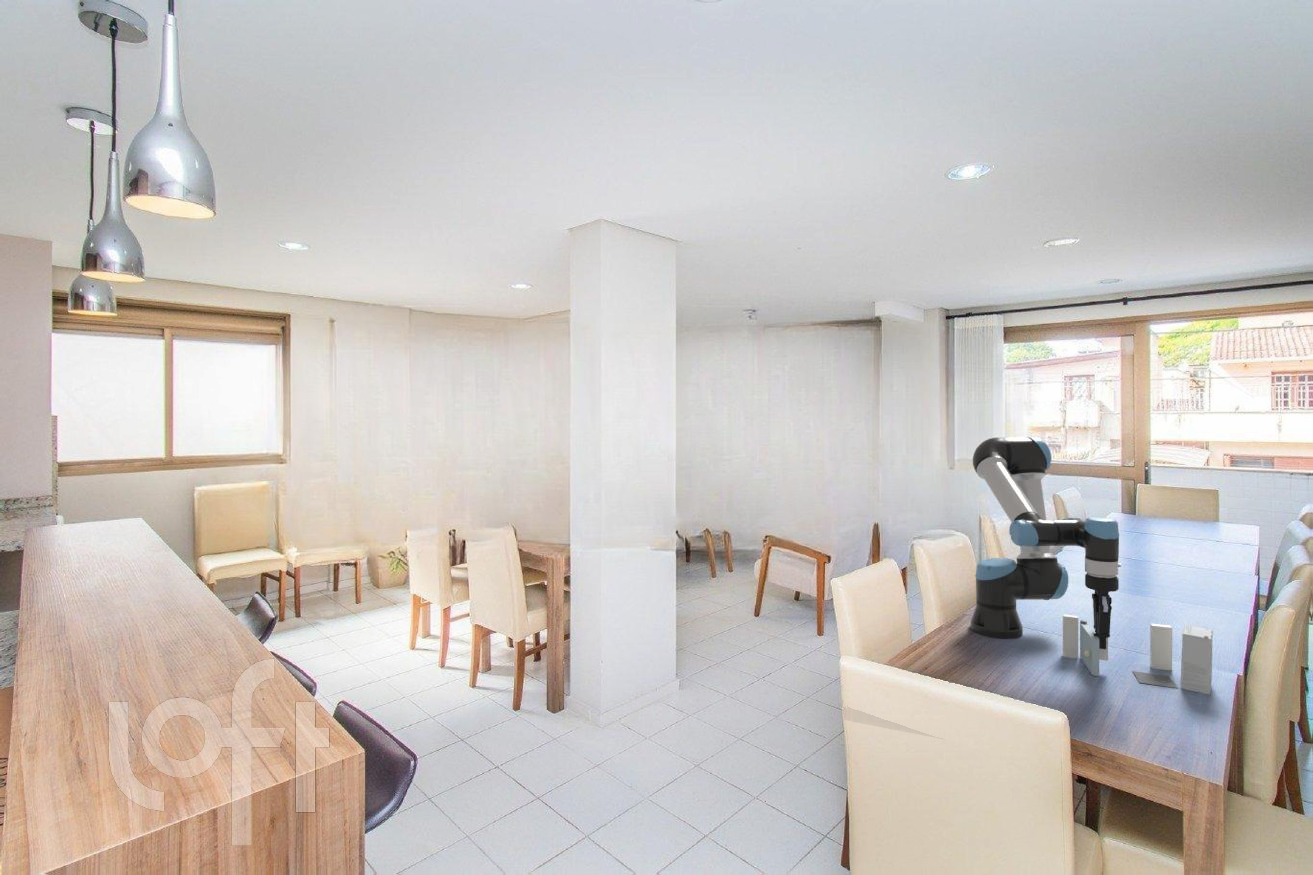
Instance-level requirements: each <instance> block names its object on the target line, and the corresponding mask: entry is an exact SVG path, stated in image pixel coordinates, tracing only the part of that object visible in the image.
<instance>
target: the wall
mask: <svg viewBox="0 0 1313 875" xmlns="http://www.w3.org/2000/svg"><path fill="white" fill-rule="evenodd" d="M1149 629H1150V634H1149V635H1150V636H1149V638H1150V639H1149V641H1150V644H1149V645H1150V647H1149V648H1150V649H1149V650H1150V652H1149V653H1150V654H1149V655H1150V657H1149V658H1150V659H1149V661H1150V663H1149V665H1150V667H1151V669H1154V670H1155V669H1156V670H1164V671H1169V672H1170V671H1171V672H1172V671H1173V627H1172V626H1171V625H1168V624H1158V623H1150V627H1149ZM1062 655H1063V658H1071V659H1079V617H1078V615H1071V614H1062Z"/></svg>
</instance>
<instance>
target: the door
mask: <svg viewBox="0 0 1313 875" xmlns="http://www.w3.org/2000/svg"><path fill="white" fill-rule="evenodd" d="M1079 624H1080V625H1079V627H1080V628H1079V630H1080V634H1079V636H1080V638H1079V643H1080V644H1079V645H1080V646H1079V647H1080V650H1079V654H1080V655H1079V657H1080V658H1081V660H1082V662H1083V663H1084V664H1085V666H1086V668H1087V670H1088V671H1089V672H1090V673H1091V675H1092V676H1096V677H1100V660H1099V639H1098V637H1097V636H1094V633H1095V631H1093V630H1092V628H1091V627H1090V626H1089V625H1088V621H1087V620H1080V621H1079Z"/></svg>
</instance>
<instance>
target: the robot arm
mask: <svg viewBox="0 0 1313 875" xmlns="http://www.w3.org/2000/svg"><path fill="white" fill-rule="evenodd" d="M1051 462H1052V454H1051V450H1050V448H1049V446H1048V444H1047V443H1046V442H1045V441H1044V440H1043V439H1042V438H1040V437H1036V436H1017V437H1016V436H1013V437H1011V436H1010V437H991V438H988V439H986V440H984V441H982V442H981V443H980V444H979V445H977V447H976V449H975V451H974V452H973V456H972V466H973V469H974V471H975V473H976V474H977V475H978V477H979V478H980V479H982V480H984V481H985V482H986V484H987V485H988V487H989V489H990V490H991V492H992V494H993V496H995V498H996V500H997V501H998V503H999V505H1000V506H1001V508H1002V509H1003V512H1004V513H1005V514H1006V517H1008V519H1009V521H1010V524H1009V532H1008V533H1009V536H1010V539H1011V541H1012V543H1013V544H1014V545H1016V546H1019V548H1020V553H1019V555H1018V556H1016V557H1015V558H1016V560H1014V559H1012V558H1006V557H1002V558H1001V557H994V558H993V557H992V558H985V559H983V560H980V561H979V562H978V563H977V564H976V566H975V567H976V570H975V594H976V595H975V597H976V600H975V601H976V602H975V603H976V604H975V605H976V606H975V608H974V611H973V613H972V616H971V618H970V629H971V630H972V631H973V632H975V633H978V634H979V635H983V636H986V637H990V638H991V637H992V638H999V639H1015V638H1020V637H1021V636H1023V631H1024V630H1023V625H1022V621H1021V619H1020V617H1019V613H1018V611H1017V601H1019V600H1020V601H1021V600H1022V601H1025V600H1026V601H1027V600H1031V601H1032V600H1033V601H1035V600H1037V601H1038V600H1039V601H1041V600H1044V601H1049V600H1050V601H1051V600H1059V599H1061V598H1063V596H1064V595H1065V594H1066V592H1067V591H1068V587H1069V573H1068V571H1067V569H1066V567H1065V565H1064V564H1062V563H1061V562H1058V557H1057V556H1056V555H1055V554H1053V553H1052V550H1051V547H1080V548H1084V551H1085V552H1084V553H1085V555H1084V556H1085V557H1084V572H1086V573H1085V574H1084V578H1085V579H1084V585H1085V587H1086V588H1087V589H1090V590H1093V591H1094V592H1093V593H1091V599H1092V608H1093V609H1092V610H1093V611H1092V613H1093V629H1094V636H1097V637H1098V639H1099V661H1109V638H1111V635H1110V634H1111V633H1110V632H1111V616H1112V609H1113V607H1112V605H1111V604H1112V602H1113V600H1112V597H1111V595H1110V594H1109V593H1111V592H1116V591H1117V592H1118V590H1119V587H1120V586H1119V584H1120V582H1119V577H1118V575H1119V568H1121V567H1122V564H1121V563H1119V557H1120V556H1119V555H1120V554H1119V553H1120V551H1119V549H1120V546H1119V545H1120V532H1119V523H1118V521H1117V520H1115V519H1113V518H1109V517H1100V516H1099V517H1098V516H1097V517H1096V516H1095V517H1094V516H1093V517H1092V516H1091V517H1088V518H1085V520H1083V518H1082V519H1081V518H1079V517H1065V518H1062V519H1047V514H1046V507H1045V500H1044V493H1043V485H1042V479H1043V478H1044V477H1045V476H1046V471H1047V470H1049V469H1050V467H1051V465H1052V463H1051Z"/></svg>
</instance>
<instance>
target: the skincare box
mask: <svg viewBox="0 0 1313 875" xmlns="http://www.w3.org/2000/svg"><path fill="white" fill-rule="evenodd" d="M1213 634H1214V631H1213V629H1209V628H1205V627H1200V626H1199V627H1198V626H1192V625H1188V624H1184V626H1183V628H1182V634H1181V635H1182V641H1181V646H1182V647H1181V665H1180V667H1181V668H1180V689H1183V690H1186V691H1187V690H1188V691H1192V692H1197V693H1200V694H1203V695H1205V694H1206V695H1208V696H1209V695H1211V690H1212V680H1213V679H1212V677H1213V675H1212V674H1213Z"/></svg>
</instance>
